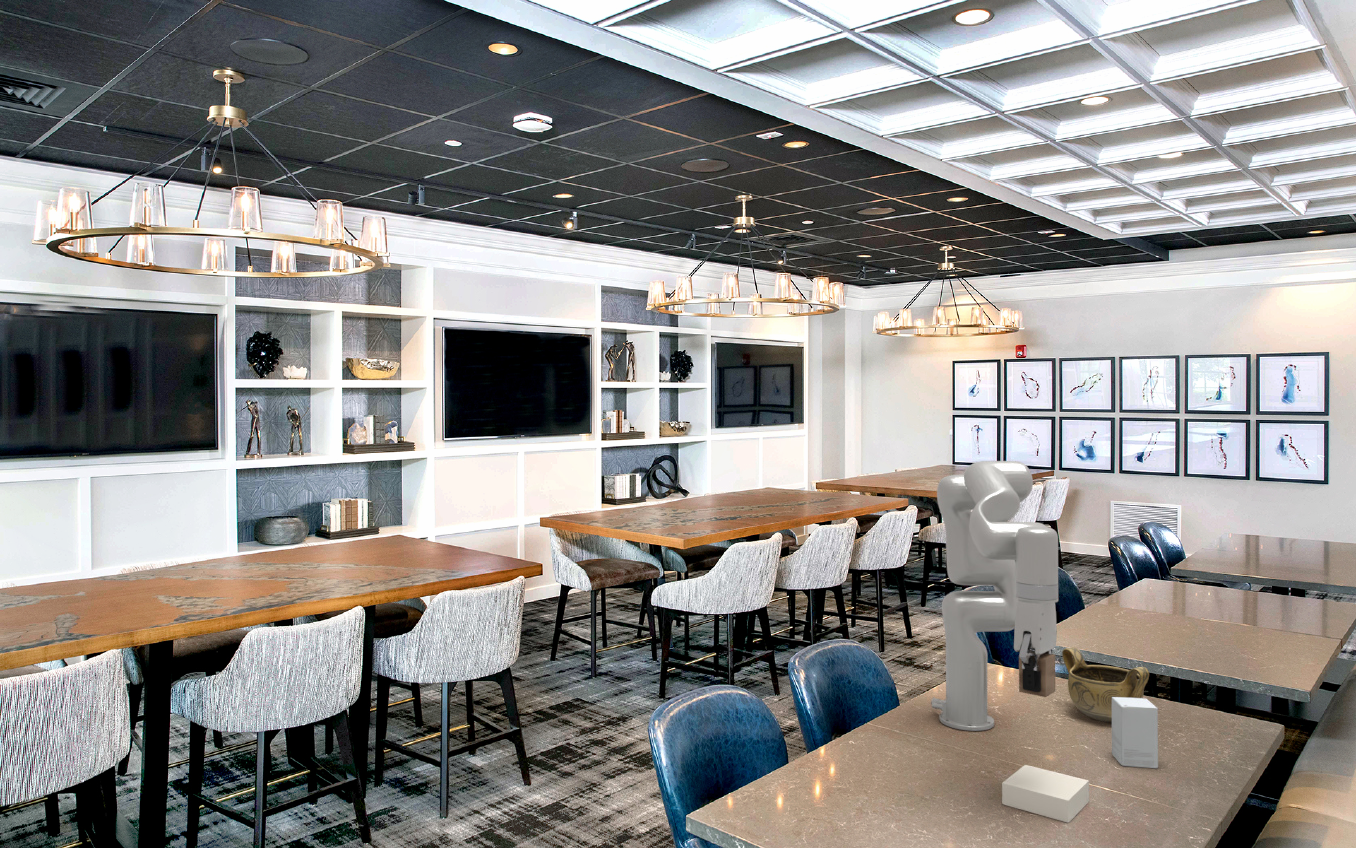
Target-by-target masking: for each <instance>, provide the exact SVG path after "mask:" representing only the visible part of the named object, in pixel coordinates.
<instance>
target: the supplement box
mask: <svg viewBox="0 0 1356 848" xmlns="http://www.w3.org/2000/svg"><path fill="white" fill-rule="evenodd" d="M1158 710H1159V709H1158V707H1157V706H1156V705H1154V704H1153V703H1152V702H1151V701H1150V700H1149V699H1147V698H1145V697H1143V698H1126V697H1112V722H1111V754H1112V756H1113V757H1114V758H1115V760H1116V761H1118V763H1119V764H1120V765H1121V766H1123V767H1135V768H1146V769H1147V768H1148V769H1149V768H1151V769H1158V768H1159V740H1158V739H1159V718H1158V717H1159V715H1158Z"/></svg>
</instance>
